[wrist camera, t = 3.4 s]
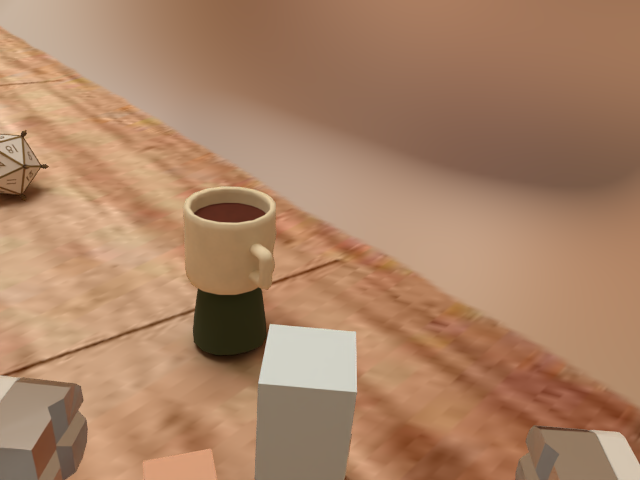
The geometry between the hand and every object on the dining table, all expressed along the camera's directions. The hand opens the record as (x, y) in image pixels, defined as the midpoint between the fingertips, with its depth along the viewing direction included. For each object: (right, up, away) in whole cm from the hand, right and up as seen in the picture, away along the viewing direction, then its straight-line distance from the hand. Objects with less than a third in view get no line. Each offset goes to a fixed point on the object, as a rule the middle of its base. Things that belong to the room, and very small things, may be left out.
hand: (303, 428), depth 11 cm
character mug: (-8, -5, +41) cm, 42 cm away
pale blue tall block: (-1, -16, +23) cm, 27 cm away
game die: (-38, +9, +62) cm, 73 cm away
